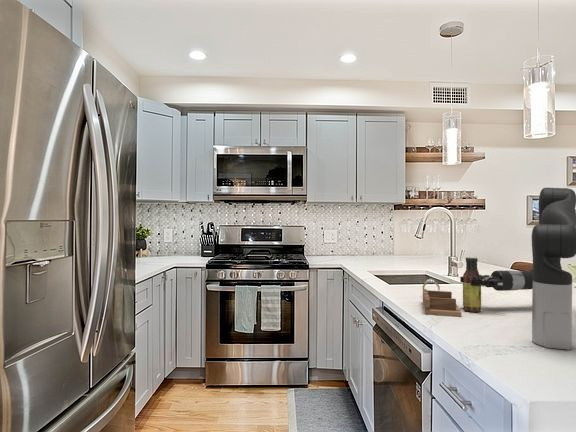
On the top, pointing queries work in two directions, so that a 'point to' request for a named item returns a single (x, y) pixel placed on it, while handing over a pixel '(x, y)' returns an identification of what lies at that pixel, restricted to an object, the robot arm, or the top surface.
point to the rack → (440, 303)
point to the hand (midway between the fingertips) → (466, 281)
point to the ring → (431, 282)
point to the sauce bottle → (471, 292)
